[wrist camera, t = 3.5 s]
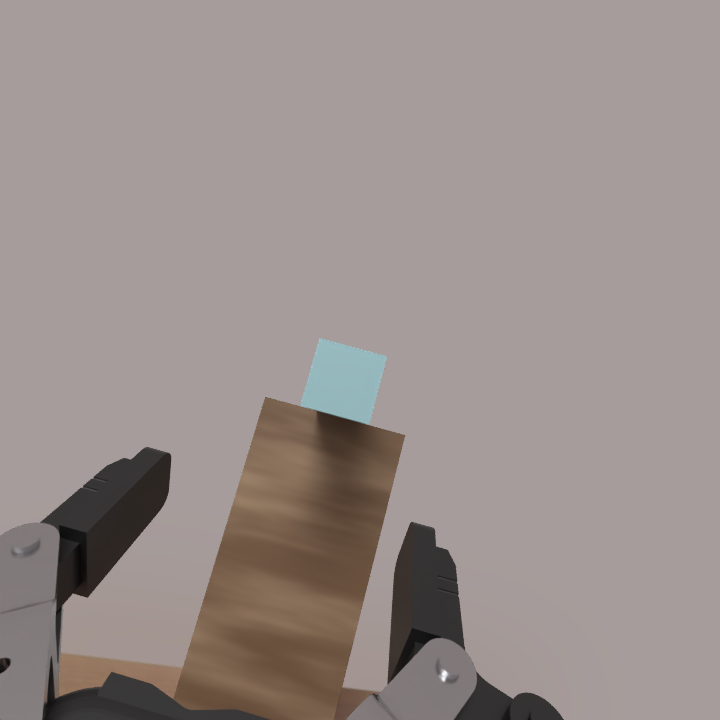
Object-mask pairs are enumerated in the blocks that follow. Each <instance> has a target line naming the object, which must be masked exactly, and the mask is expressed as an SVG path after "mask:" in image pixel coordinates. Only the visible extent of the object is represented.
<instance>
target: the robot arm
mask: <svg viewBox="0 0 720 720" xmlns="http://www.w3.org/2000/svg"><path fill="white" fill-rule="evenodd" d="M170 468H171V455H170V454H169V453H167V452H163V451H160V450H156V449H153V448H149V447H146V448H144V449H143V450H141V451H140V452H139V453H138V454H137V455H136V456H135V457H134V458H132V459H131V460H130V459H126V458H123V459H121V460H119V461H116V462H114V463H112V464H110V465H107V466H106V467H105V468H104V469H103V470H102V471H100V472H99V473H98V474H97V475H95V476H94V478H93V479H91V480H90V481H88V482H87V483H86V484H85V485H84V486H83V488H80V489H79V490H78V491H77V492H75V493H74V494H73V495H72V496H71V497H70V498H69V499H67V500H66V501H65V502H64V503H63V504H61V505H60V506H59V507H58V508H57V509H56V510H54V511H53V512H52V513H51V514H50V515H49V516H47V517H46V518H45V519H44V520H43V521H42V522H40V523H30V524H24V525H21V526H18V527H15V528H13V529H11V530H9V531H7V532H5V533H4V534H2V535H1V536H0V720H270V719H267V718H264V717H260V716H257V715H254V714H250V713H247V712H243V711H240V710H237V709H225V710H189V709H186V708H184V707H183V706H182V705H180V704H179V703H177V702H176V701H175V700H173V699H172V698H170V697H169V696H168V695H166V694H165V693H163V692H162V691H161V690H159V689H158V688H157V687H155V686H154V685H152V684H150V683H146V682H143V681H140V680H136V679H133V678H130V677H126V676H123V675H120V674H116V673H113V672H111V673H110V675H109V677H108V678H107V680H106V681H105V683H104V684H103V686H102V687H94V688H87V689H82V690H78V691H74V692H71V693H68V694H65V695H62V696H60V697H59V672H60V655H61V638H62V621H63V604H64V603H65V602H66V601H67V600H68V598H69V597H70V596H71V595H72V594H73V593H74V594H77V595H80V596H84V597H89V595H90V594H91V593H92V591H94V589H95V588H96V587H97V586H98V584H99V583H100V582H101V581H102V580H103V578H104V577H105V576H106V575H107V574H108V572H109V571H110V570H111V569H112V568H113V566H114V565H115V564H116V563H117V562H118V560H119V559H120V558H121V557H122V556H123V554H124V553H125V552H126V551H127V550H128V548H129V547H130V546H131V545H132V544H133V542H134V541H135V540H136V539H137V537H138V536H139V535H140V534H141V533H142V532H143V530H144V529H145V528H146V527H147V526H148V524H149V523H150V522H151V520H153V518H154V517H155V516H156V515H157V513H158V512H159V511H160V510H161V508H162V507H163V505H164V503H165V501H166V499H167V496H168V492H169V480H170ZM391 618H392V619H391V634H390V635H391V636H390V652H389V668H388V669H389V670H388V685H387V686H386V687H385V688H384V689H383V690H382V691H381V692H380V693H379V694H378V695H375V694H371V695H370V696H368V697H367V698H366V699H365V700H364V701H363V702H362V703H361V704H360V705H359V706H358V707H357V708H356V709H355V710H354V711H353V713H352V714H351V715H350V716H349V717H348V718H347V719H346V720H564V719H563V718H562V717H561V715H560V714H559V713H558V711H557V710H556V709H555V708H554V707H553V706H552V705H551V704H550V703H549V702H547V701H546V700H545V699H543V698H541V697H540V696H538V695H535V694H532V693H521V694H518V695H517V696H516V697H515V698H514V699H512V698H511V697H509V696H507V695H506V694H504V693H503V692H501V691H500V690H498V689H497V688H495V687H494V686H492V685H491V684H489V683H488V682H486V681H485V680H484V679H483V678H482V677H481V676H480V675H479V674H478V673H477V672H476V670H475V666H474V664H473V662H472V660H471V658H470V657H469V655H468V654H467V653H466V651H465V647H464V639H463V630H462V621H461V612H460V602H459V597H458V584H457V574H456V566H455V563H454V562H453V559H452V558H451V556H450V554H449V552H448V550H446V549H443V548H439V547H436V540H435V529H434V528H432V527H428V526H425V525H421V524H417V523H414V522H411V523H410V525H409V528H408V531H407V533H406V536H405V539H404V541H403V544H402V547H401V550H400V552H399V555H398V558H397V562H396V567H395V572H394V585H393V600H392V617H391Z"/></svg>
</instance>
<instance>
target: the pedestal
mask: <svg viewBox="0 0 720 720" xmlns="http://www.w3.org/2000/svg"><path fill="white" fill-rule="evenodd" d="M404 437H405V435H402V434H399V433H395V432H391V431H388V430H384V429H381V428H377V427H373V426H370V425H366V424H362V423H359V422H355V421H351V420H348V419H344V418H340V417H337V416H333V415H329V414H326V413H322V412H318V411H315V410H311V409H308V408H304V407H300V406H297V405H292V404H289V403H286V402H282V401H278V400H275V399H271V398H267V397H265V400H264V403H263V406H262V410H261V413H260V416H259V419H258V423H257V426H256V430H255V433H254V436H253V439H252V442H251V446H250V450H249V452H248V456H247V459H246V462H245V465H244V469H243V472H242V475H241V479H240V482H239V486H238V489H237V492H236V495H235V498H234V502H233V505H232V508H231V511H230V515H229V518H228V521H227V525H226V528H225V531H224V534H223V538H222V541H221V544H220V547H219V551H218V554H217V557H216V561H215V564H214V567H213V571H212V574H211V577H210V580H209V584H208V587H207V590H206V593H205V597H204V600H203V603H202V607H201V610H200V613H199V616H198V620H197V623H196V626H195V630H194V633H193V636H192V639H191V643H190V646H189V649H188V653H187V656H186V659H185V663H184V666H183V669H182V672H181V676H180V679H179V682H178V685H177V689H176V692H175V695H174V699H173V700H175V701H176V702H177V703H179V704H180V705H182V706H183V707H184V708H186V709H189V710H225V709H237V710H240V711H243V712H247V713H250V714H254V715H257V716H260V717H264V718H267V719H270V720H334V717H335V713H336V709H337V705H338V701H339V697H340V693H341V689H342V685H343V681H344V677H345V673H346V669H347V665H348V661H349V657H350V653H351V649H352V645H353V641H354V637H355V633H356V629H357V625H358V621H359V617H360V613H361V609H362V605H363V601H364V597H365V593H366V589H367V585H368V581H369V577H370V573H371V569H372V565H373V561H374V557H375V553H376V549H377V545H378V541H379V537H380V533H381V529H382V525H383V521H384V517H385V513H386V509H387V505H388V501H389V497H390V493H391V489H392V485H393V481H394V477H395V473H396V469H397V465H398V461H399V457H400V453H401V449H402V445H403V441H404Z"/></svg>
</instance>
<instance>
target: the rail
mask: <svg viewBox="0 0 720 720" xmlns="http://www.w3.org/2000/svg"><path fill="white" fill-rule="evenodd" d="M386 358H387V356H383V355H379V354H376V353H372V352H368V351H365V350H361V349H357V348H354V347H350V346H347V345H343V344H339V343H335V342H332V341H328V340H324V339H321V338H320V339H319V343H318V346H317V350H316V353H315V356H314V360H313V363H312V367H311V370H310V374H309V377H308V381H307V384H306V387H305V391H304V394H303V398H302V401H301V405H300V406H303V407H306V408H309V409H312V410H315V411H318V412H322V413H326V414H329V415H333V416H337V417H340V418H344V419H348V420H351V421H355V422H359V423H363V424H369V422H370V419H371V415H372V411H373V407H374V403H375V400H376V396H377V392H378V388H379V384H380V381H381V377H382V373H383V369H384V365H385V361H386Z"/></svg>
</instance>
